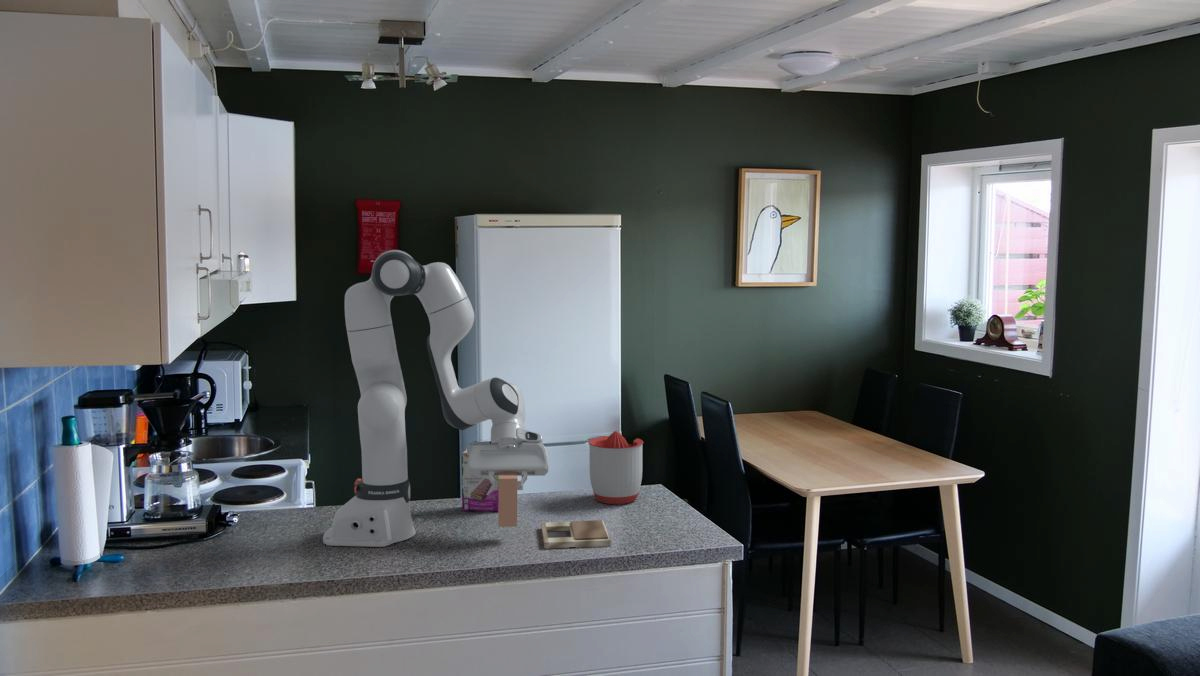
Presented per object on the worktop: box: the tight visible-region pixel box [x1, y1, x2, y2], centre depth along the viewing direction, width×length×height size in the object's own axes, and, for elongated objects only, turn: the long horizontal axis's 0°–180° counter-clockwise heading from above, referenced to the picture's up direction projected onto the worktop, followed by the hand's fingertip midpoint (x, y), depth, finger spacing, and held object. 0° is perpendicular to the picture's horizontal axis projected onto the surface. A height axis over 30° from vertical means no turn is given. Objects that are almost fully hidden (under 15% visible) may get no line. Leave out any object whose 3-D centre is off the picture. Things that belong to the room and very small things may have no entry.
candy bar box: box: [461, 448, 499, 513], centre depth 256 cm, size 11×5×16 cm, turn 84°
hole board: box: [541, 519, 612, 550], centre depth 233 cm, size 16×16×2 cm
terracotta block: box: [497, 474, 518, 528], centre depth 230 cm, size 4×4×12 cm
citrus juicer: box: [588, 430, 644, 505], centre depth 266 cm, size 16×17×20 cm
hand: (507, 489), depth 229 cm, fingers closed on terracotta block, 4 cm apart
